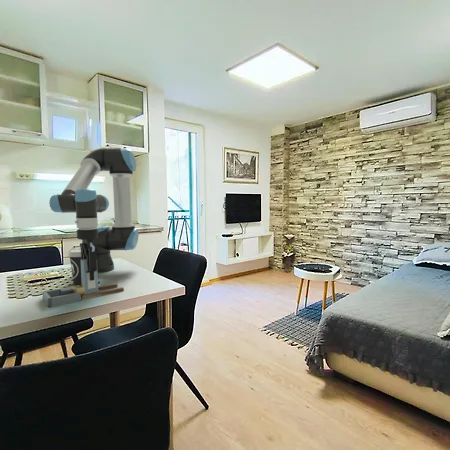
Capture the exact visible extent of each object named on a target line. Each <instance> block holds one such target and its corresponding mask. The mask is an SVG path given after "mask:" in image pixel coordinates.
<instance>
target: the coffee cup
mask: <svg viewBox="0 0 450 450" xmlns="http://www.w3.org/2000/svg"><path fill="white" fill-rule="evenodd" d="M68 257H69V262H70V270H71V275H72V276H71V277H72V282H73V285H74V286H77V285H82V280H81V249H80V248H79V249H72V250H70V251H69V253H68Z"/></svg>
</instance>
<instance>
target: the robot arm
mask: <svg viewBox="0 0 450 450" xmlns="http://www.w3.org/2000/svg"><path fill="white" fill-rule="evenodd" d="M136 170H137V161H136V157H135V154H134V152H133V151H132V149H130V148H124V147H121V148H120V147H119V148H118V147H117V148H116V147H115V148H114V147H113V148H112V147H111V148H109V147H108V148H107V147H104V148H98V149H96V150H92V151H91V152H89V153H88V154H87V155H85V157H84V158H83V159H82V160H81V161H80V167H79V168H78V170H77V171H76V172H75V173H74V176H73V177H72V178H71V180H70V181H69V182H68V184H67V185H66V187H65V188H64V190H63V191H62V192H61V194H53V195H51V197H50V198H49V202H48V203H49V207H50V210H51V211H53V212H54V213H61V214H67V213H69V214H70V213H75V215H76V216H75V218H76V220H75V221H74V223H75V224H76V228H77V229H76V238H77V239H78V240H81V243H79V246H80V247H79V249H81V260H84V259H87V267H88V271H86V273H87V282H88V289H91V288H96V286H95V271H97V272H98V273H104V272H108V271H112V270H114V269H115V262H114V261H113V258H112V255H111V251H133V250H134V249H136V248H137V245H138V241H139V235H140V234H139V229H138V228H136V227H135V224H134V223H133V221H132V203H131V201H132V199H131V198H132V197H131V196H132V195H131V178H132V176H133V175H134V174H133V172H136ZM101 172H109V175H110V176H111V177H112V191H113V213H114V223H113V224H112V225H111V228H110V225H106V226H99V224H98V222H99V221H98V213H103V212H105V211H107V210H108V209H109V206H110V202H109V199H108V198H107V197H106V196H104V195H102V194H97V191H96V190H95V189H93V188H91V189H90V188H89V186H90V185H91V183H92V182H93V179H94V178H95V176H97V175H99V174H100V173H101Z"/></svg>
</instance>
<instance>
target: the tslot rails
mask: <svg viewBox="0 0 450 450" xmlns="http://www.w3.org/2000/svg"><path fill="white" fill-rule="evenodd" d="M124 290H125V289H124V287H123V286H121V287H118V283H112V284H108V285H107V284H106V285H101V286H98V292H94V293H89V294H85V295H81V296H82V298H81V299H82V300H85V299H90V298H95V297H96V298H97V297H100V296H104V295H110V294H114V293H119V292H124Z"/></svg>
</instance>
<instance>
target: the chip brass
mask: <svg viewBox="0 0 450 450" xmlns="http://www.w3.org/2000/svg"><path fill="white" fill-rule="evenodd" d="M71 287H72V288H73V289H74V293H78V292H80V294H81V295H85V287H84V286H83V285H72V286H71ZM81 299H82V296H81Z"/></svg>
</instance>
